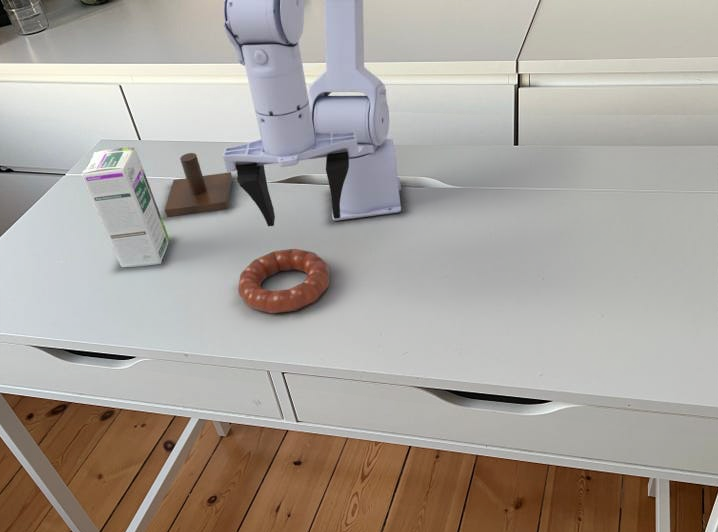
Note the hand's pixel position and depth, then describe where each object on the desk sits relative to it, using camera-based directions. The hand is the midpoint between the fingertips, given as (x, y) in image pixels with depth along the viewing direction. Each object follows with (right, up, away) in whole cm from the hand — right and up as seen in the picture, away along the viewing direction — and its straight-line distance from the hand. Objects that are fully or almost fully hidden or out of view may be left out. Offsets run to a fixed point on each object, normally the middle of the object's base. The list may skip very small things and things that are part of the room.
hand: (304, 218), depth 89 cm
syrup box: (-23, -2, +17) cm, 29 cm away
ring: (-3, -7, +6) cm, 9 cm away
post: (-18, +8, +27) cm, 33 cm away
